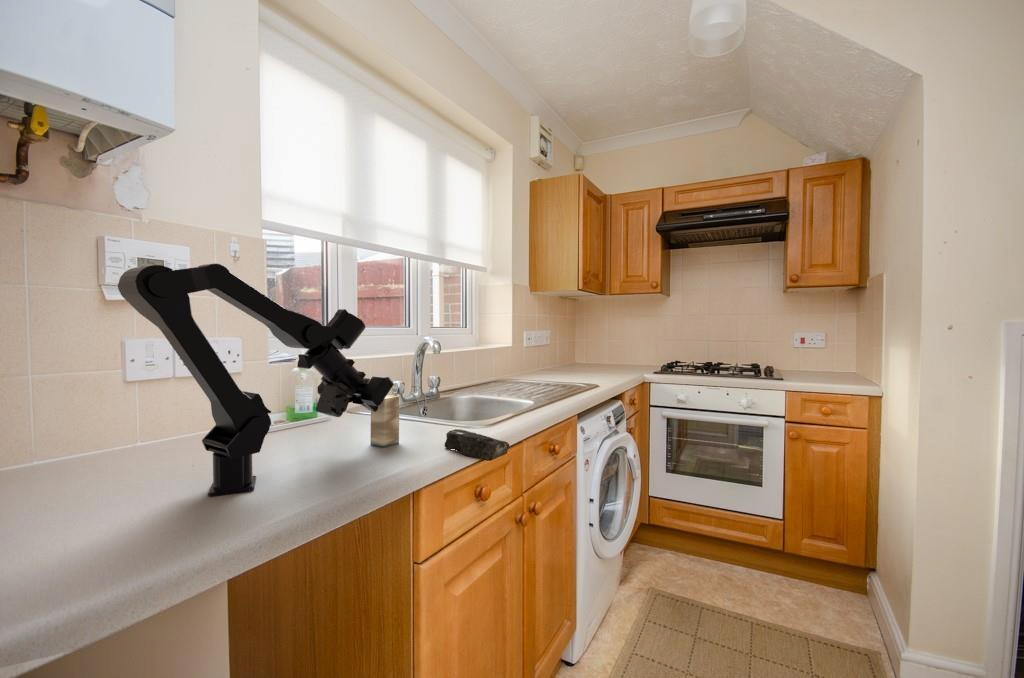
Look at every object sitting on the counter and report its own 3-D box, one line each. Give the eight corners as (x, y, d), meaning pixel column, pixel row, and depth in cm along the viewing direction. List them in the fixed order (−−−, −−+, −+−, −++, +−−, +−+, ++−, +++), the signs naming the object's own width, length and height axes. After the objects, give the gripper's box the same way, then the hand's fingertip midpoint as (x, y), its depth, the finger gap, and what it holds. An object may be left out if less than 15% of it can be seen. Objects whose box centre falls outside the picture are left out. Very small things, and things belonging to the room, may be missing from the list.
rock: (494, 463, 93) (494, 443, 93) (436, 451, 101) (436, 432, 101) (515, 454, 99) (515, 435, 99) (459, 443, 108) (459, 425, 108)
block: (384, 447, 102) (384, 398, 102) (370, 444, 105) (370, 396, 105) (398, 443, 106) (399, 396, 106) (385, 440, 109) (385, 394, 108)
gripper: (281, 393, 94) (328, 434, 104) (339, 402, 84) (385, 447, 94) (314, 352, 100) (356, 395, 110) (372, 356, 90) (412, 403, 100)
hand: (375, 410), depth 103 cm, fingers closed
